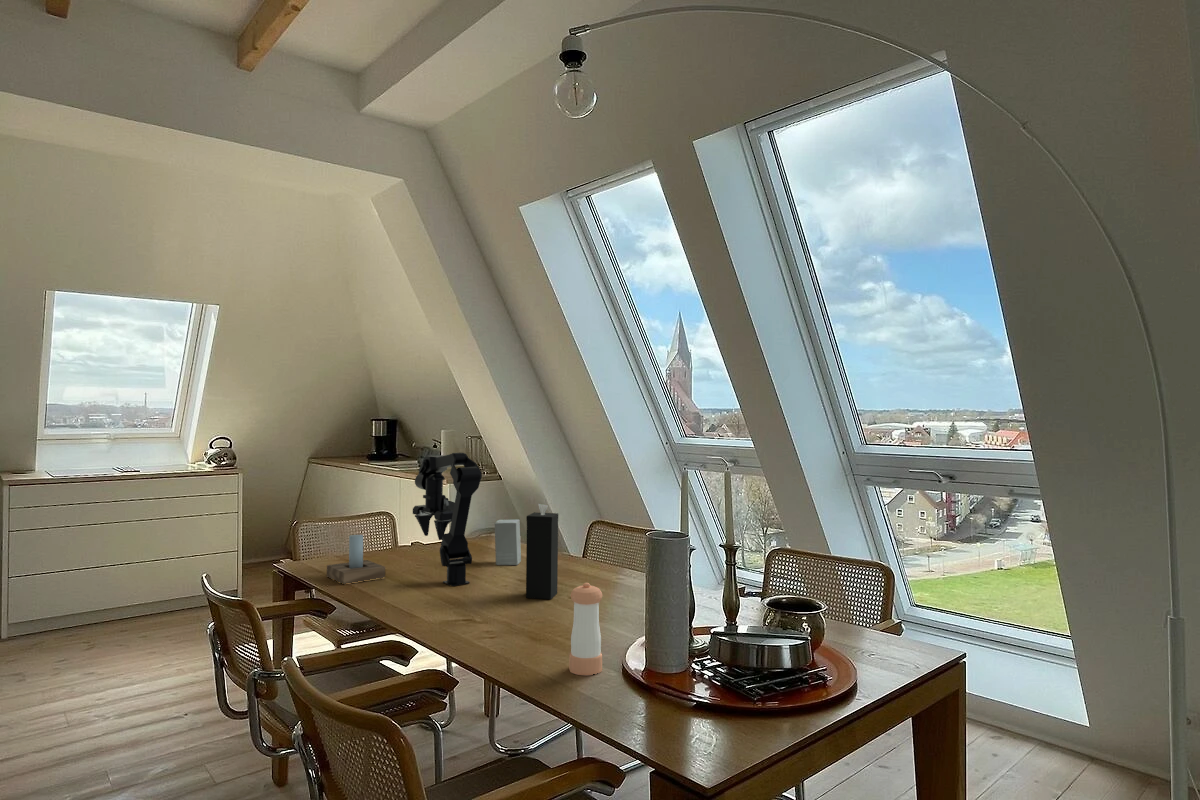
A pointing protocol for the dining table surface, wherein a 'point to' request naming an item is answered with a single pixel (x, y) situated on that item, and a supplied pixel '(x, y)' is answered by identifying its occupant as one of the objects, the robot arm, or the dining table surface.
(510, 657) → the dining table surface
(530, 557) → the tissue box
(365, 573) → the socket block
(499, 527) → the skincare box
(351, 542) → the peg
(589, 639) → the salt shaker
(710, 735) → the dining table surface
